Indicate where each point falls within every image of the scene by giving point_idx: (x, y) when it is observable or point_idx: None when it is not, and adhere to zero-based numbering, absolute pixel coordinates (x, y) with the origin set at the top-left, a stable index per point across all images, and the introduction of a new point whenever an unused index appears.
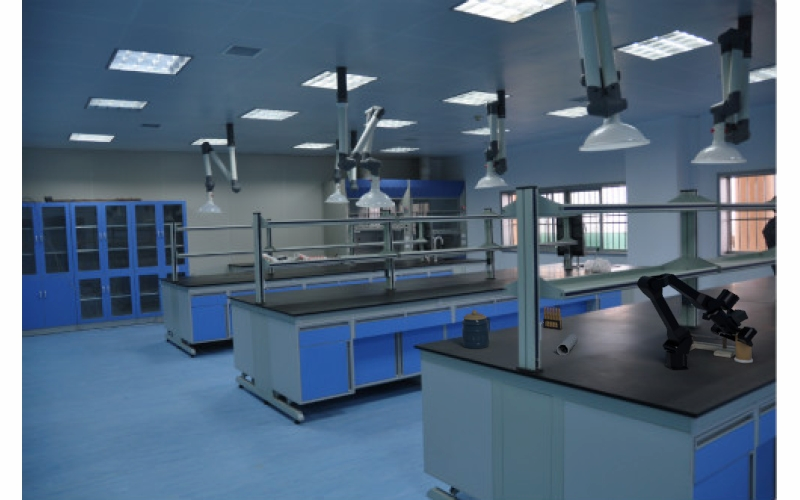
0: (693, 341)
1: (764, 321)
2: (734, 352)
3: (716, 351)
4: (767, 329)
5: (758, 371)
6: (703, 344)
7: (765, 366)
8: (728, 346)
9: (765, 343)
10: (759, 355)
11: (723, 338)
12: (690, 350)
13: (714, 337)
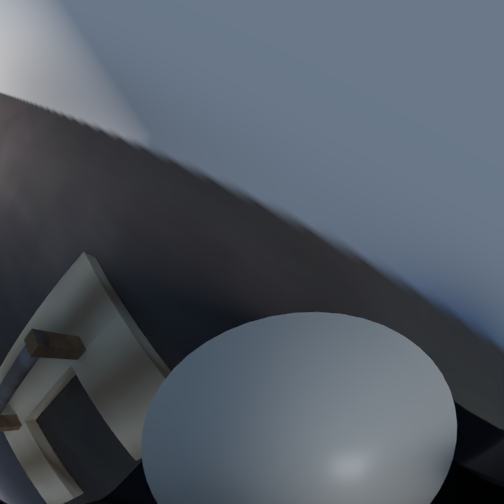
0: (8, 417)
1: (6, 102)
2: (144, 345)
3: (130, 444)
4: (24, 104)
5: (490, 395)
6: (22, 385)
7: (427, 319)
8: (59, 303)
9: (72, 129)
10: (193, 219)
11: (35, 353)
12: (66, 470)
13: (15, 380)
